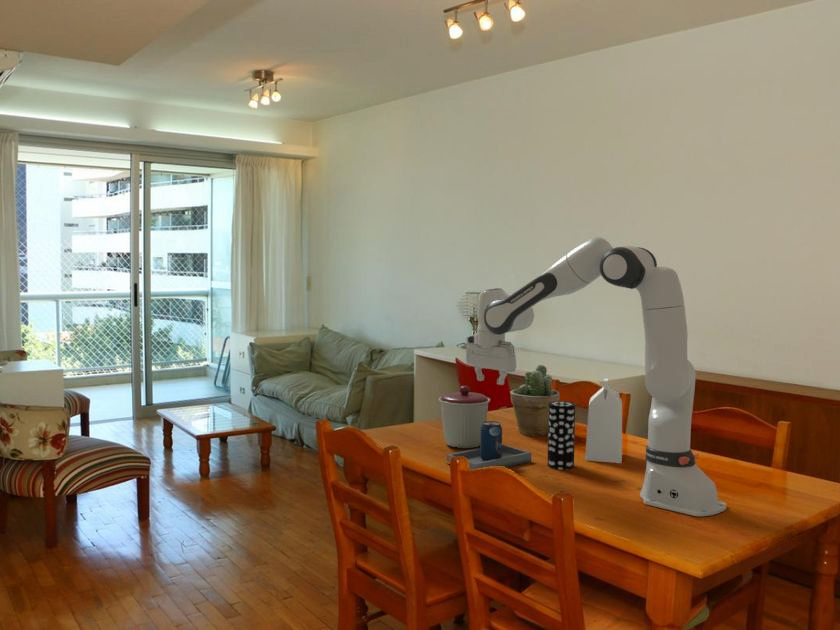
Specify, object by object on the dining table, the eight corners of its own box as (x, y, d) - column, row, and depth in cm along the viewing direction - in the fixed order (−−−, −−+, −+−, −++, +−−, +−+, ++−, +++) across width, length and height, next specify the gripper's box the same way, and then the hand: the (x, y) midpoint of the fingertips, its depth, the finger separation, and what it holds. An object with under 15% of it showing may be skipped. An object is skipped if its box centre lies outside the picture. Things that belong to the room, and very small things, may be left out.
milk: (587, 451, 254) (589, 376, 252) (622, 453, 251) (624, 377, 249) (585, 460, 242) (587, 381, 240) (621, 463, 239) (623, 383, 237)
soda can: (501, 463, 235) (502, 425, 234) (480, 462, 235) (480, 425, 234) (501, 457, 241) (502, 420, 241) (480, 456, 242) (480, 420, 241)
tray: (531, 461, 240) (531, 452, 240) (475, 474, 226) (475, 464, 225) (501, 452, 251) (501, 443, 251) (446, 463, 237) (446, 454, 237)
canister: (461, 436, 274) (462, 379, 272) (500, 445, 261) (501, 386, 259) (427, 444, 261) (428, 385, 259) (466, 454, 248) (466, 392, 246)
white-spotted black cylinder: (573, 470, 230) (575, 407, 229) (546, 468, 232) (548, 405, 231) (573, 463, 239) (575, 402, 237) (547, 461, 240) (549, 400, 239)
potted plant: (562, 438, 271) (564, 371, 269) (512, 438, 271) (513, 370, 269) (554, 427, 289) (555, 364, 287) (507, 426, 290) (508, 363, 288)
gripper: (521, 341, 229) (520, 386, 230) (477, 336, 245) (477, 377, 246) (506, 343, 225) (505, 388, 226) (462, 337, 241) (462, 379, 243)
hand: (490, 382), depth 236 cm, fingers open, 8 cm apart
